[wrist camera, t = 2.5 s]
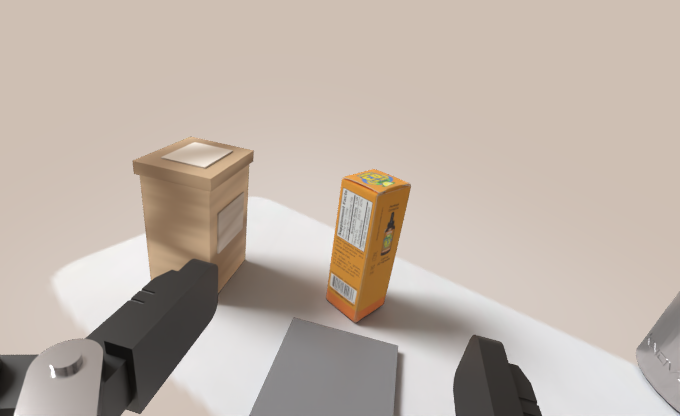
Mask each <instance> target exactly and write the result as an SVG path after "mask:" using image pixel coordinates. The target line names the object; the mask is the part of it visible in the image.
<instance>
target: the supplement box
mask: <svg viewBox="0 0 680 416" xmlns="http://www.w3.org/2000/svg"><path fill="white" fill-rule="evenodd" d="M410 188H411V185H410V184H409V183H407V182H405V181H403V180H400V179H398V178H396V177H393V176H391V175H389V174H386V173H383V172H381V171H378V170H375V169H373V170H368V171H365V172H361V173H357V174H353V175H349V176H346V177H343V178H342V184H341V191H340V198H339V207H338V214H337V221H336V228H335V235H334V243H333V249H332V257H331V265H330V273H329V280H328V288H327V295H326V299H327V300H328V301H329V302H330V303H331V304H332V305H333V306H335V307H336V308H337V309H338V310H339V311H341V312H342V313H343V314H344V315H346V316H347V317H348V318H349V319H351V320H352V321H353V322H355V323H356V322H358V321H359V320H361V319H362V318H363V317H365V316H366V315H368V314H370V313H371V312H373V311H374V310H376V309H377V308H379V307H380V306H382V305H383V304H384V300H385V296H386V292H387V288H388V284H389V280H390V276H391V271H392V267H393V263H394V259H395V254H396V250H397V246H398V241H399V237H400V233H401V228H402V224H403V220H404V215H405V211H406V207H407V202H408V198H409V193H410Z"/></svg>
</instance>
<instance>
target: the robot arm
mask: <svg viewBox="0 0 680 416" xmlns="http://www.w3.org/2000/svg"><path fill="white" fill-rule="evenodd" d="M217 303H218V266H217V265H216V264H213V263H210V262H206V261H202V260H199V259H195V258H194V259H191V260H190V261H188V262H187V263H186V264H185V265H184V266H183V267H182V268H181V269H180V270H179V271H175V270H170V271H168V272H166V273H164V274H161V275H159V276H157V277H155V278H154V279H153V280H151V281H150V282H149V283H148V284H147V285H146V286H145V287H143V288H142V291H139V292H138V293H137V294H135V295H134V296H133V297H132V298H131V300H130V301H127V302H126V303H125V304H124V305H123V306H122V307H121V308H119V309H118V310H117V311H116V312H115V313H114V314H113V315H111V316H110V317H109V318H108V319H107V320H106V321H105V322H103V323H102V324H101V325H100V326H99V327H98V328H97V329H95V330H94V331H93V332H92V333H91V334H90V335H89V336H87V337H86V338H85V339H72V340H68V341H64V342H61V343H58V344H56V345H54V346H52V347H50V348H48V349H46V350H45V351H44V352H42V353H41V354H40V355H0V416H121V414H122V413H123V412H124V410H125V409H126V410H129V411H132V412H135V413H138V414H141V412H142V411H143V410H144V409H145V407H146V406H147V404H148V403H149V402H150V401H151V399H152V398H153V397H154V395H155V394H156V393H157V391H158V390H159V388H160V387H161V386H162V385H163V383H164V382H165V381H166V379H167V378H168V377H169V375H170V374H171V373H172V371H173V370H174V369H175V368H176V366H177V365H178V364H179V362H180V361H181V360H182V358H183V357H184V356H185V354H186V353H187V352H188V350H189V349H190V348H191V346H192V345H193V344H194V342H195V341H196V340H197V338H198V337H199V336H200V334H201V333H202V332H203V330H204V329H205V328H206V327H207V325H208V324H209V323H210V321H211V320H212V318H213V316H214V314H215V311H216V308H217ZM636 358H637V361H638V365H639V367H640V369H641V370H642V372H643V374H644V376H645V377H646V378H647V380H648V381H649V382H650V383H651V385H652V386H653V387H654V389H655V390H656V391H657V392H658V393H659V394H660V395H661V396H662V397H663V398H664V399H665V400H666V401H667V402H668V403H669V404H670V405H672V406H673V407H674V408H675V409H676V410H677V411H679V412H680V292H679V293H678V294H677V296H676V297H675V298H674V300H673V301H672V303H671V304H670V305H669V306H668V307H667V309H666V310H665V312H664V313H663V314H662V315H661V317H660V318H659V320H658V321H657V322H656V324H655V325H654V327H653V328H652V329H651V330H650V332H649V333H648V335H647V336H646V337H645V339H644V340H643V341H642V342H641V344H640V345H639V346H638V348H637V351H636ZM453 393H454V403H455V412H456V416H542V414H541V411H540V409H539V406H538V405H537V400H536V397H535V394H534V391H533V388H532V385H531V383H530V382H529V380H528V379H527V377H526V376H525V375H524V373H523V372H522V370H521V369H520V368H519V366H517V365H514V364H510V363H508V360H507V356H506V353H505V349H504V346H503V344H502V343H501V342H500V341H496V340H492V339H488V338H485V337H481V336H477V335H473V336H472V337H471V339H470V341H469V343H468V345H467V348H466V350H465V352H464V354H463V357H462V359H461V361H460V363H459V365H458V368H457V370H456V373H455V377H454V384H453Z"/></svg>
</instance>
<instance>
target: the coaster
mask: <svg viewBox="0 0 680 416" xmlns="http://www.w3.org/2000/svg"><path fill="white" fill-rule="evenodd" d="M397 353H398V346H397V345H393V344H390V343H386V342H382V341H379V340H375V339H371V338H368V337H364V336H360V335H357V334H353V333H349V332H346V331H342V330H338V329H334V328H331V327H327V326H323V325H320V324H316V323H312V322H309V321H305V320H301V319H298V318H293V320H292V322H291V324H290V326H289V329H288V331H287V333H286V335H285V338H284V340H283V342H282V344H281V346H280V349H279V351H278V353H277V355H276V357H275V360H274V362H273V364H272V366H271V368H270V371H269V373H268V375H267V377H266V380H265V382H264V384H263V386H262V388H261V391H260V393H259V395H258V397H257V399H256V402H255V404H254V406H253V408H252V411H251V413H250V415H249V416H393V414H394V398H395V383H396V368H397Z"/></svg>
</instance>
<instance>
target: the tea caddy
mask: <svg viewBox="0 0 680 416" xmlns="http://www.w3.org/2000/svg"><path fill="white" fill-rule="evenodd" d="M251 162H253V150H249V149H244V148H239V147H235V146H231V145H226V144H221V143H217V142H213V141H208V140H203V139H198V138H194V137H188V138H186V139H184V140H181V141H179V142H176V143H174V144H172V145H170V146H167V147H165V148H162V149H160V150H157V151H155V152H153V153H150V154H148V155H145V156H143V157H141V158H138V159H136V160H133V169H134V174H137V175H140V182H141V192H142V201H143V210H144V220H145V229H146V238H147V248H148V257H149V267H150V276H151V280H153V279H154V278H155V277H157V276H159V275H161V274H164V273H166V272H168V271H170V270H175V271H179V270H180V269H181V268H182V267H183V266H184V265H185V264H186V263H187V262H188V261H190V260H191V259H194V258H195V259H199V260H202V261H206V262H210V263H213V264H216V265H217V266H218V293H219V292H220V290H221V289H222V288H223V287H224V285H225V284H226V283H227V282H228V280H229V279H230V278H231V276H232V275H233V274H234V273H235V271H236V270H237V269H238V268H239V266H240V265H241V264H242V263H243V261H244V260H245V249H246V226H247V202H248V179H249V164H250V163H251Z"/></svg>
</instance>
